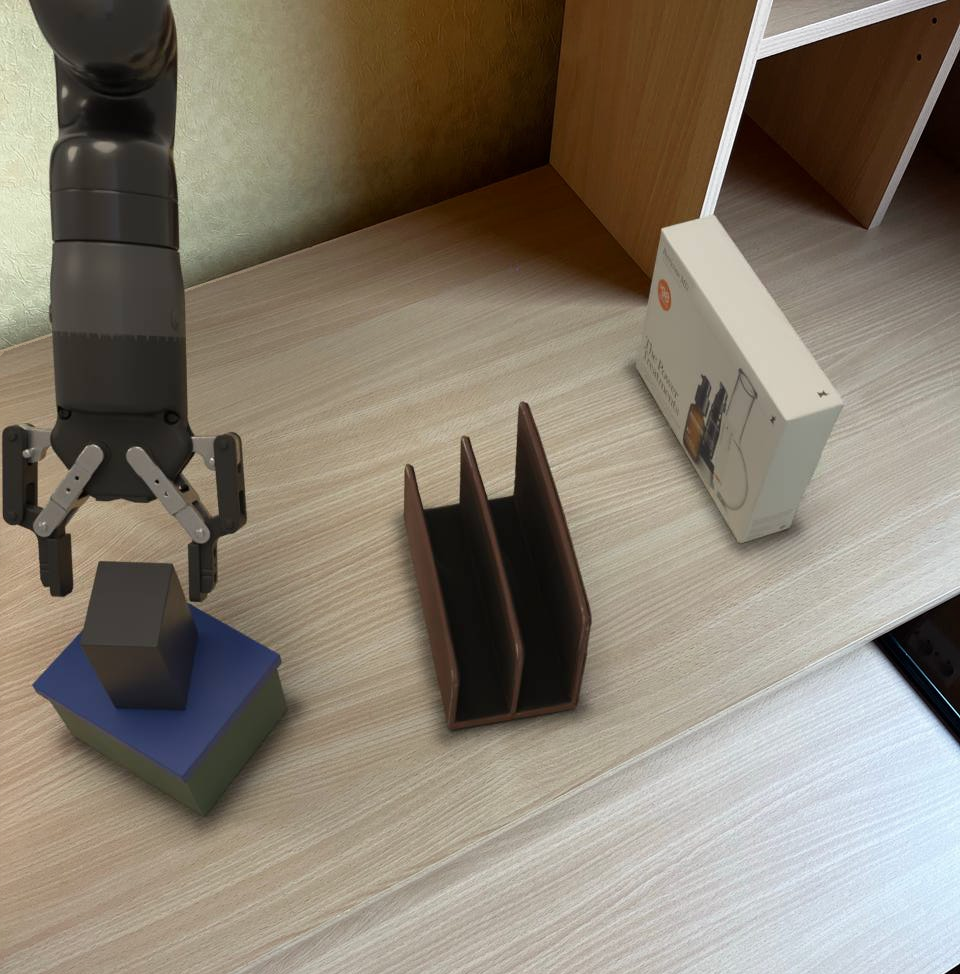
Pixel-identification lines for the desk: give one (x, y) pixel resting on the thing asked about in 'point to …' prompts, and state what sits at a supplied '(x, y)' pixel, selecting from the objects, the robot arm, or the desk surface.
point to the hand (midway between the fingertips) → (130, 597)
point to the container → (178, 714)
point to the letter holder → (501, 590)
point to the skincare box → (733, 379)
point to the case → (140, 635)
